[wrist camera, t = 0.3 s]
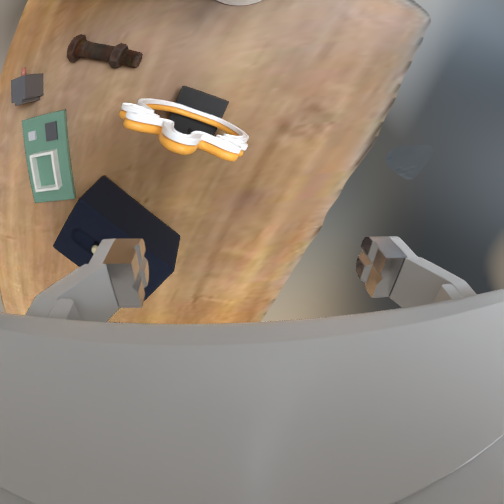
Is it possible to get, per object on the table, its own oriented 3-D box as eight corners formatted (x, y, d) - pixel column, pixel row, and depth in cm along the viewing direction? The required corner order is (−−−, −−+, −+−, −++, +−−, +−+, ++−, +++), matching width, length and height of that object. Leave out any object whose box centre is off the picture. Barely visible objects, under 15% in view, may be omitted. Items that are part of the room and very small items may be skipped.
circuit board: (24, 120, 41) (17, 122, 38) (65, 109, 43) (59, 111, 40) (36, 201, 52) (30, 206, 49) (76, 197, 53) (70, 202, 51)
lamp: (149, 121, 48) (77, 168, 22) (165, 80, 44) (103, 74, 17) (229, 149, 53) (244, 222, 27) (247, 108, 49) (285, 136, 23)
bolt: (142, 65, 43) (79, 51, 37) (148, 44, 39) (83, 31, 33) (130, 78, 40) (64, 64, 35) (136, 55, 36) (66, 42, 31)
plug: (29, 69, 35) (11, 71, 29) (43, 65, 36) (25, 65, 30) (30, 102, 39) (11, 107, 33) (43, 98, 40) (25, 102, 34)
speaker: (78, 214, 56) (50, 249, 43) (106, 172, 52) (77, 200, 39) (149, 266, 66) (137, 310, 53) (181, 232, 62) (174, 273, 49)
